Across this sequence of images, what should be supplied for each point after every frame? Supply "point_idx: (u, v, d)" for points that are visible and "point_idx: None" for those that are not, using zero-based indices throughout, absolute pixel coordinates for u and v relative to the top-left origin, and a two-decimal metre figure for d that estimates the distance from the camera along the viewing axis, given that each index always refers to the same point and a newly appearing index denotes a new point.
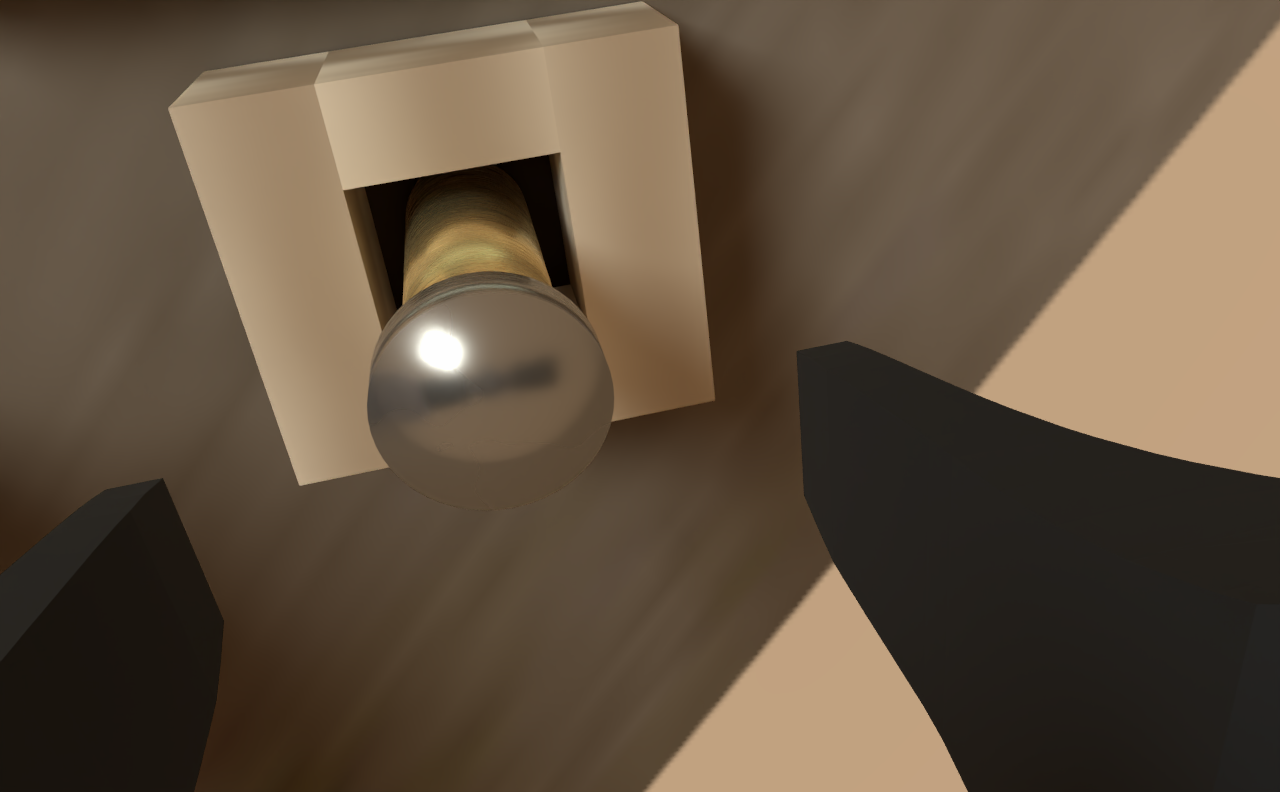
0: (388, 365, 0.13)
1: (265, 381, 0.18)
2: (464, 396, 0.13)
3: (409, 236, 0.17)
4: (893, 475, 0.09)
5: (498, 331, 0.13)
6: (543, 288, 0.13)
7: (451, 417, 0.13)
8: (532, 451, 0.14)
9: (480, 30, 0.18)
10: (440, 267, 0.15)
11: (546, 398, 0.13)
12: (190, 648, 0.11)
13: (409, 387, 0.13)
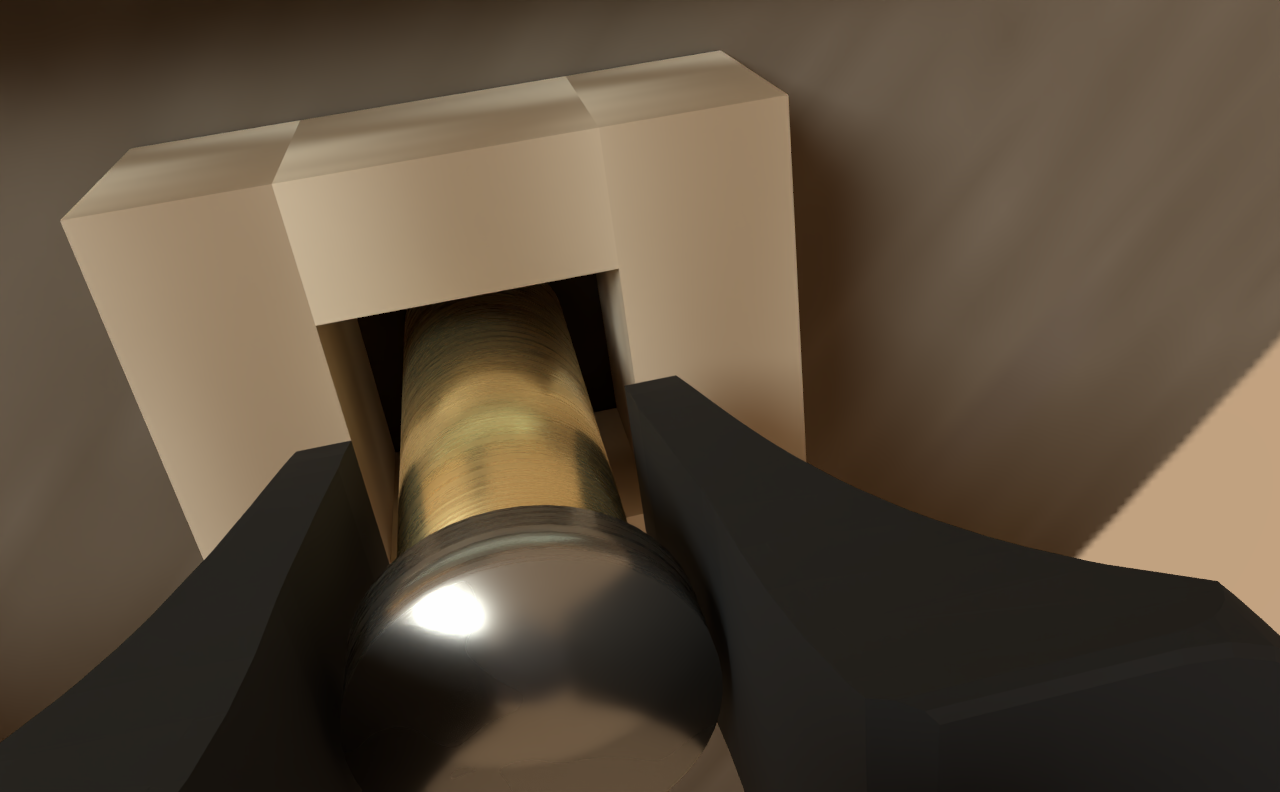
0: (373, 671, 0.08)
1: None
2: (493, 705, 0.08)
3: (408, 378, 0.13)
4: (686, 520, 0.09)
5: (548, 614, 0.08)
6: (616, 532, 0.08)
7: (473, 734, 0.08)
8: (595, 769, 0.09)
9: (505, 92, 0.13)
10: (452, 462, 0.10)
11: (619, 700, 0.09)
12: None
13: (405, 698, 0.08)
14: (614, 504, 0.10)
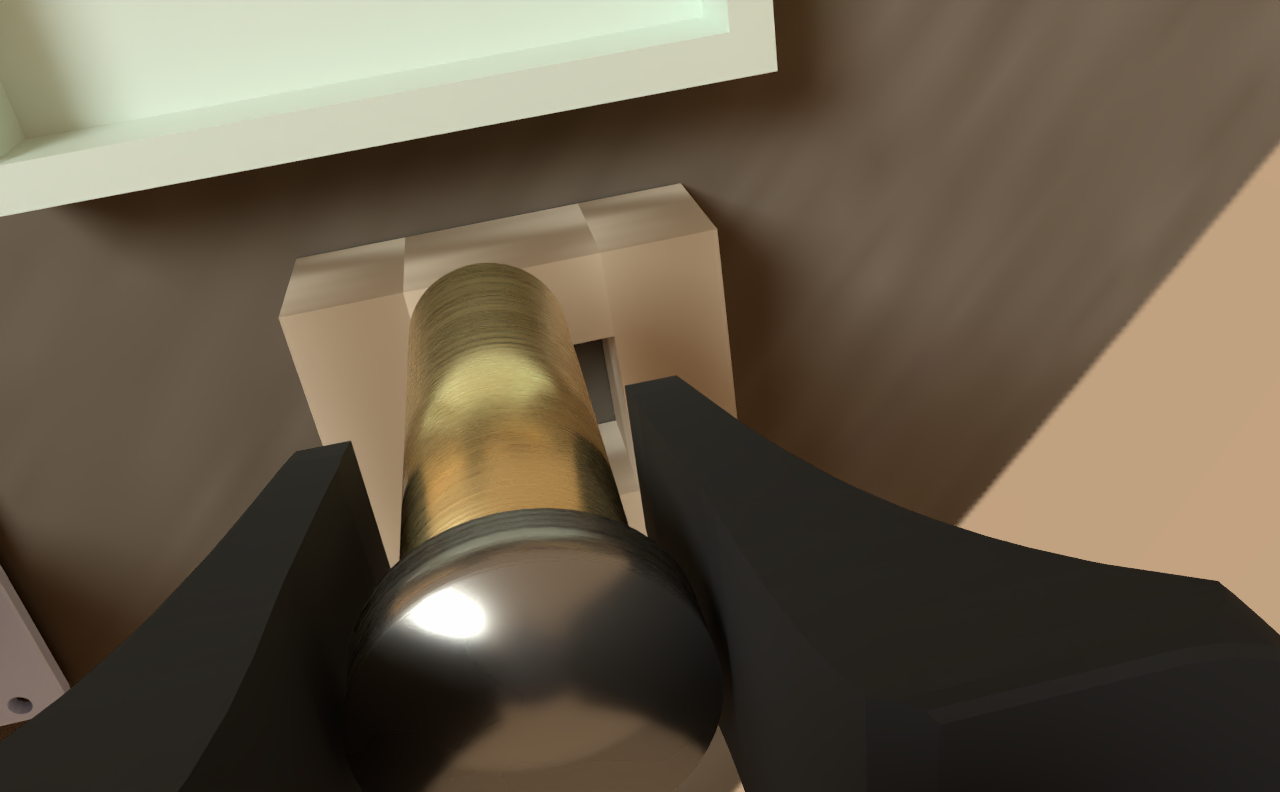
0: (375, 672, 0.08)
1: None
2: (494, 707, 0.08)
3: (412, 385, 0.13)
4: (686, 520, 0.09)
5: (549, 616, 0.08)
6: (616, 535, 0.09)
7: (473, 736, 0.08)
8: (596, 772, 0.09)
9: (539, 217, 0.21)
10: (454, 466, 0.10)
11: (620, 702, 0.09)
12: None
13: (408, 699, 0.08)
14: (615, 508, 0.10)
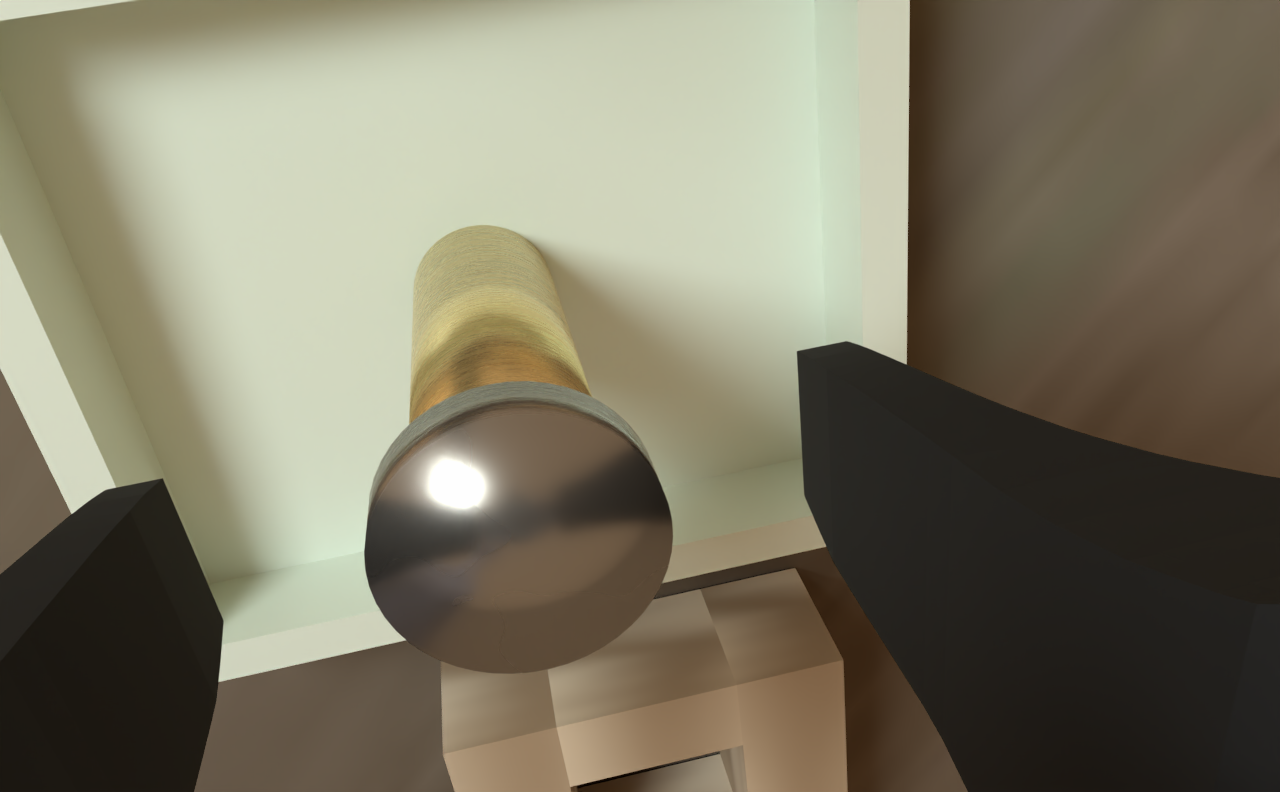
0: (391, 505, 0.10)
1: None
2: (486, 539, 0.10)
3: (417, 321, 0.15)
4: (893, 475, 0.09)
5: (529, 460, 0.10)
6: (584, 402, 0.11)
7: (470, 565, 0.10)
8: (571, 602, 0.11)
9: (666, 609, 0.22)
10: (453, 366, 0.12)
11: (588, 539, 0.11)
12: (190, 648, 0.11)
13: (417, 531, 0.10)
14: None
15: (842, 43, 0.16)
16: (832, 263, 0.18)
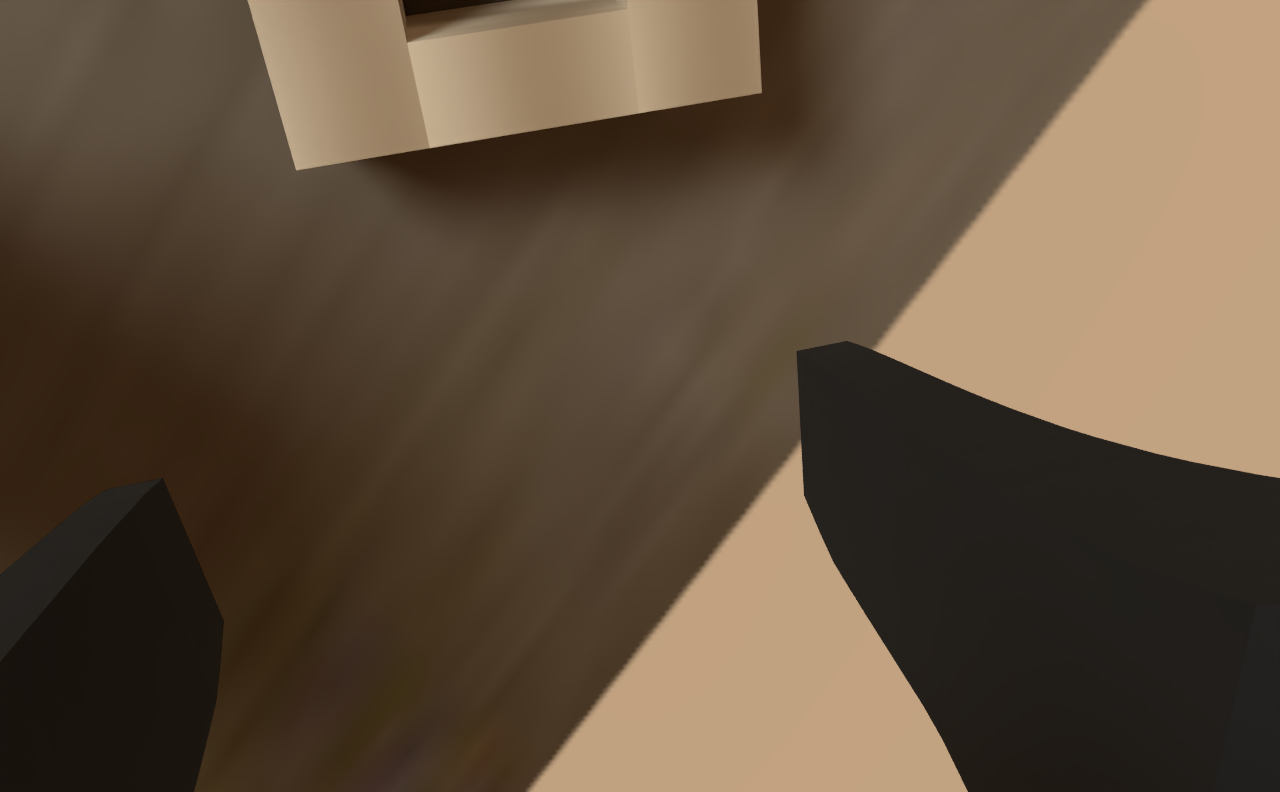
0: None
1: (258, 29, 0.16)
2: None
3: None
4: (893, 475, 0.09)
5: None
6: None
7: None
8: None
9: None
10: None
11: None
12: (190, 648, 0.11)
13: None
14: None
15: None
16: None
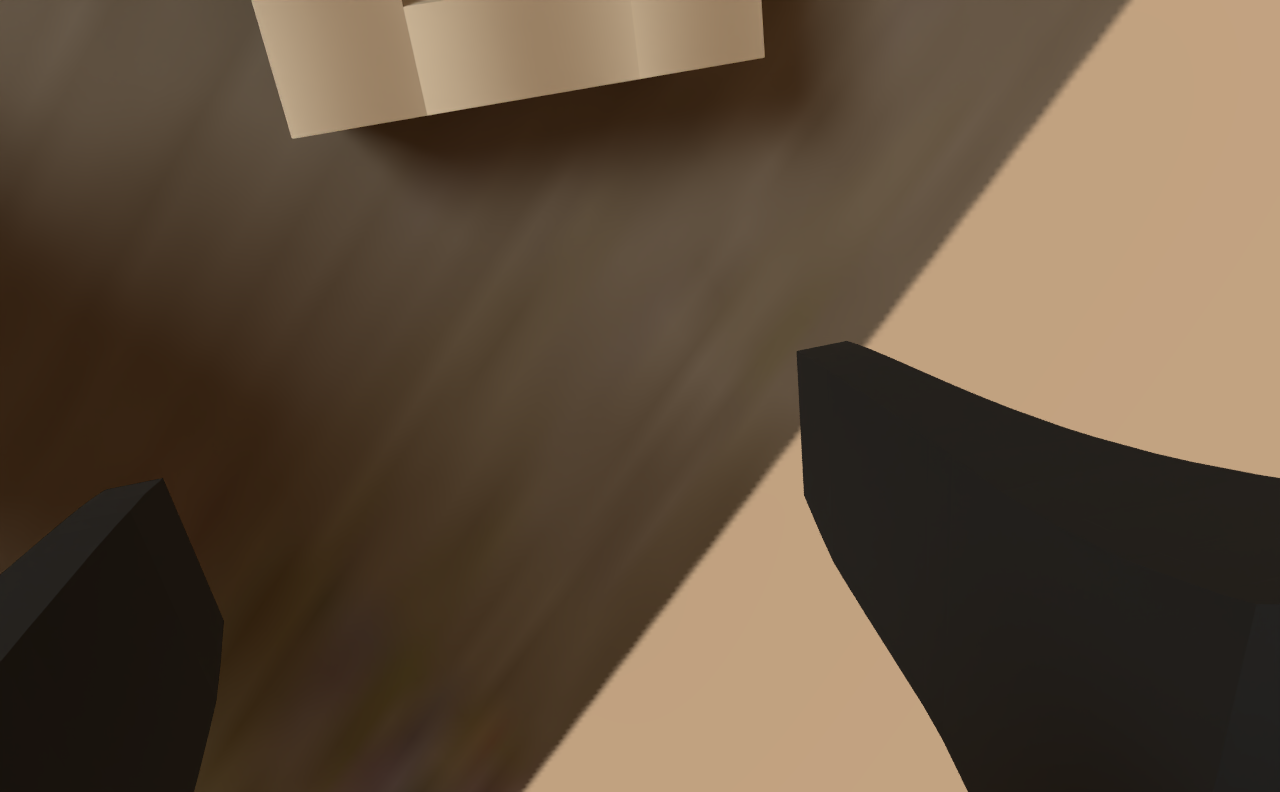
0: None
1: None
2: None
3: None
4: (893, 476, 0.09)
5: None
6: None
7: None
8: None
9: None
10: None
11: None
12: (190, 648, 0.11)
13: None
14: None
15: None
16: None
